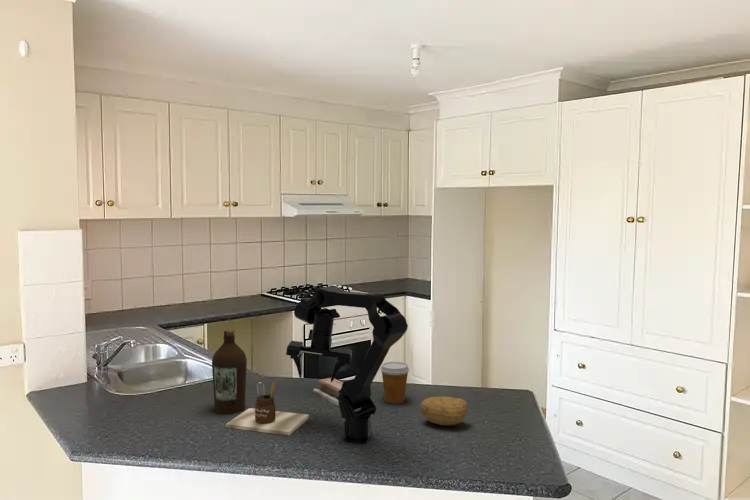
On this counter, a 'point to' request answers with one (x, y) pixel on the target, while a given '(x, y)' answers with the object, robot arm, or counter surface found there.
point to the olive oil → (229, 376)
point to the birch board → (281, 425)
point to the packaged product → (329, 390)
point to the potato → (444, 410)
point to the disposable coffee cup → (394, 381)
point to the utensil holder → (265, 407)
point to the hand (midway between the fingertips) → (315, 379)
